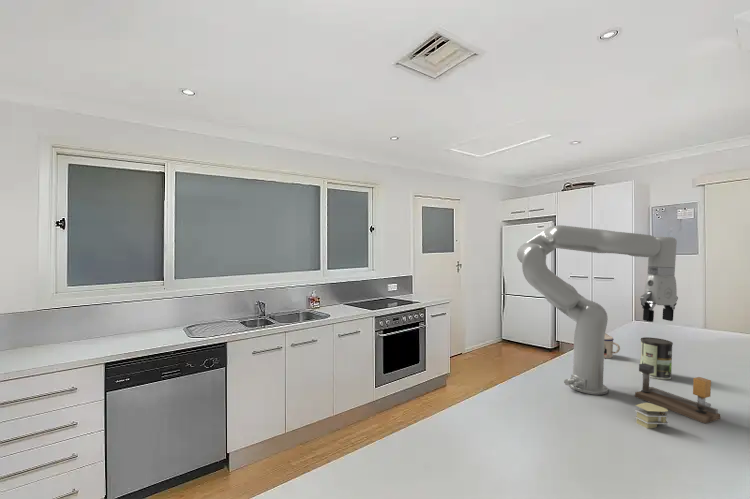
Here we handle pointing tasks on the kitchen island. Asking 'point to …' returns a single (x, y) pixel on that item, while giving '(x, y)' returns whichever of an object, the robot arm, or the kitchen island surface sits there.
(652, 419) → the stacked layers on plate
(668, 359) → the coffee can
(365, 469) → the kitchen island surface
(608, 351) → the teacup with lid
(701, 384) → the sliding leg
